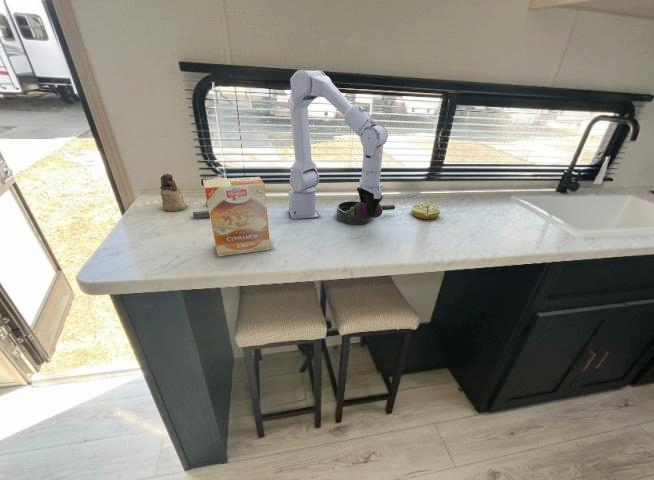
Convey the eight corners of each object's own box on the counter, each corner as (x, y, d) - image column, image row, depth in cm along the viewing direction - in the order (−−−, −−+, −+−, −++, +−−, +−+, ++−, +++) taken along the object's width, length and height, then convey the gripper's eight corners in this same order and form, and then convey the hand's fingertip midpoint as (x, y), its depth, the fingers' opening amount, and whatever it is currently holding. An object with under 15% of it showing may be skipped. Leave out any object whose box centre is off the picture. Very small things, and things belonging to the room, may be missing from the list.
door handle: (190, 218, 107) (241, 212, 111) (195, 197, 123) (240, 193, 126) (193, 227, 109) (243, 222, 113) (197, 206, 125) (242, 201, 128)
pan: (342, 226, 116) (342, 215, 113) (332, 212, 126) (333, 201, 123) (376, 223, 119) (378, 212, 117) (365, 210, 129) (365, 200, 127)
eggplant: (378, 214, 113) (380, 199, 110) (384, 219, 109) (385, 204, 106) (343, 216, 109) (344, 201, 106) (348, 222, 106) (348, 207, 103)
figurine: (178, 203, 124) (170, 169, 117) (189, 207, 121) (182, 173, 114) (160, 207, 119) (150, 173, 112) (171, 213, 116) (161, 178, 109)
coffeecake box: (217, 257, 93) (203, 187, 82) (215, 246, 98) (201, 178, 87) (271, 250, 99) (265, 183, 87) (266, 239, 104) (259, 175, 92)
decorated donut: (405, 214, 128) (406, 204, 126) (421, 208, 135) (423, 199, 132) (427, 222, 123) (429, 213, 120) (443, 216, 129) (445, 206, 127)
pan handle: (371, 211, 122) (371, 206, 121) (369, 209, 123) (370, 205, 122) (395, 210, 125) (396, 205, 124) (393, 208, 126) (394, 203, 125)
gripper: (392, 176, 96) (387, 221, 104) (375, 163, 107) (371, 204, 115) (370, 177, 94) (366, 222, 102) (354, 163, 105) (352, 205, 113)
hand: (367, 213), depth 108 cm, fingers closed on eggplant, 5 cm apart
